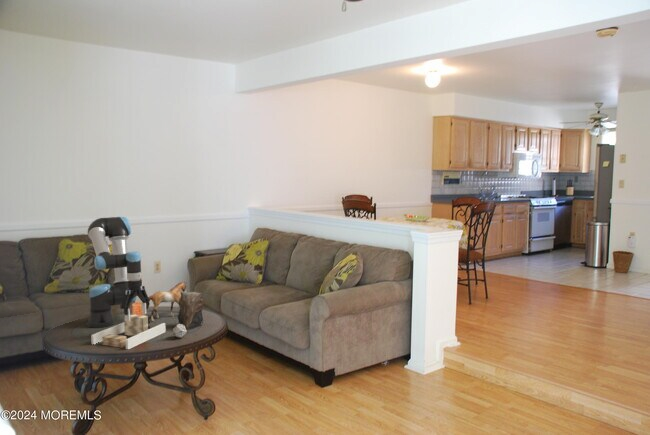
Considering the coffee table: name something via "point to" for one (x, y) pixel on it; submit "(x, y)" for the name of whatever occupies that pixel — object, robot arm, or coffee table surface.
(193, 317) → the brown rough tall block
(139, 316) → the beige stone slab
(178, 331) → the game die
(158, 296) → the horse figurine
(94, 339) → the rack
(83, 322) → the coffee table surface
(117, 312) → the coffee table surface
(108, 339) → the offcut stack
